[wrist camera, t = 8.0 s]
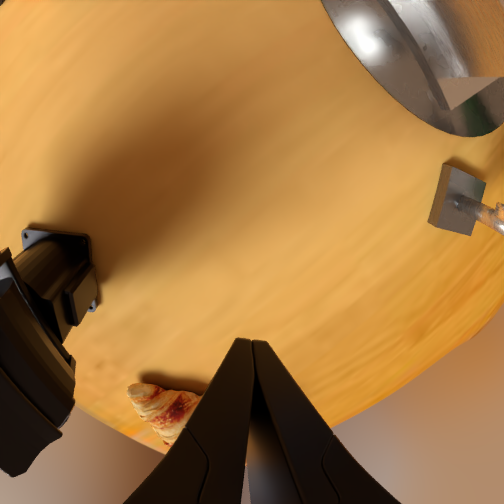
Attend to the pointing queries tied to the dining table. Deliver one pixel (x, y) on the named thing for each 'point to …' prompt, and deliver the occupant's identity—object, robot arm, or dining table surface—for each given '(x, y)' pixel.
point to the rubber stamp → (463, 204)
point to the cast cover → (452, 43)
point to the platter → (410, 71)
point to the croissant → (163, 409)
